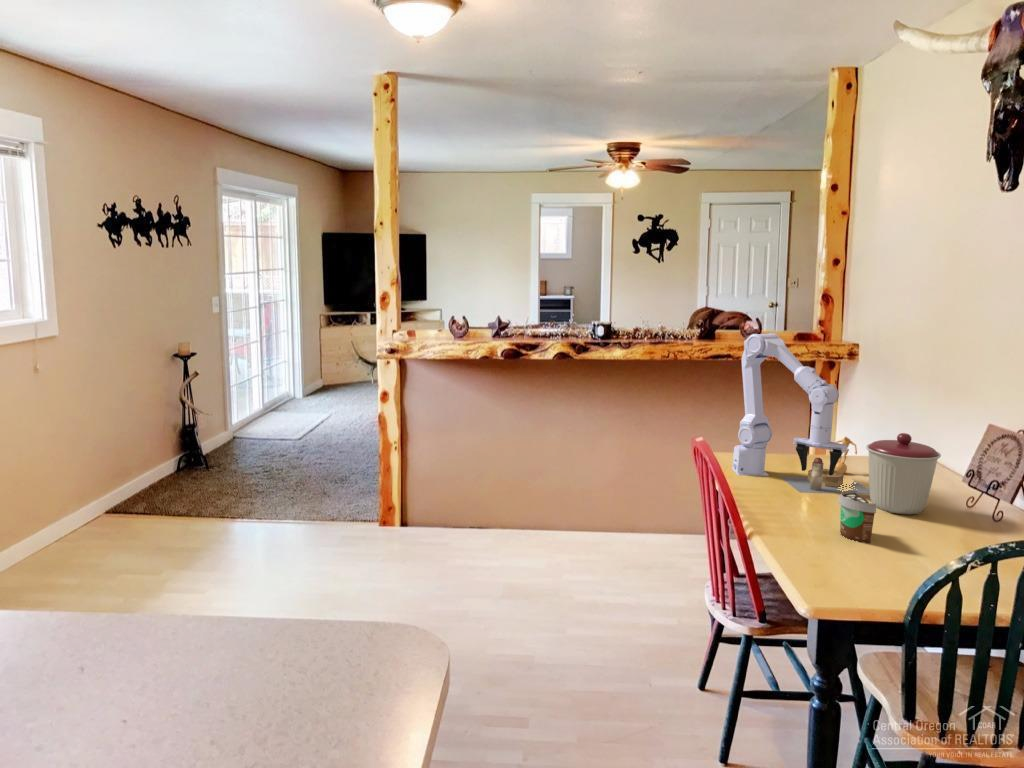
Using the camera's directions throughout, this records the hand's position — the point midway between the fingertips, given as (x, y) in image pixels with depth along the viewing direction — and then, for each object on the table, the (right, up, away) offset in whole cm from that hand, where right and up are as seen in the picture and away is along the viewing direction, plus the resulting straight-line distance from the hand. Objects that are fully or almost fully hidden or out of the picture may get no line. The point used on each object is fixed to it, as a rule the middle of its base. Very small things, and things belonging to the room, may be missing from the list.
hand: (817, 472), depth 230 cm
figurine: (+16, -3, +21) cm, 26 cm away
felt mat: (+5, -5, +6) cm, 9 cm away
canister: (+16, -9, -15) cm, 23 cm away
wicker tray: (+6, -4, +9) cm, 11 cm away
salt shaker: (0, -5, +1) cm, 5 cm away
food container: (-7, -11, -38) cm, 40 cm away
